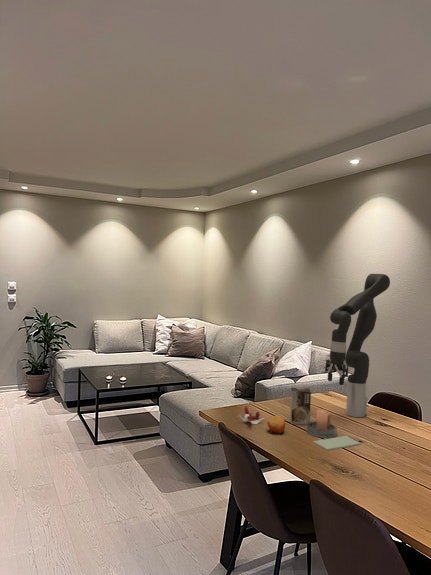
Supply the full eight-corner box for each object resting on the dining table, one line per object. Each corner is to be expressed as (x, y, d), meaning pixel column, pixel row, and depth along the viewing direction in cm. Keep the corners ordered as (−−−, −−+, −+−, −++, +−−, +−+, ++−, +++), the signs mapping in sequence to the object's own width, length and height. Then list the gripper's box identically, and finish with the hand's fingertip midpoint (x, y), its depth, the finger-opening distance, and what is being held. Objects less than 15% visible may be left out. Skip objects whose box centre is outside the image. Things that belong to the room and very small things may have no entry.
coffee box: (308, 420, 212) (309, 388, 212) (310, 425, 206) (311, 391, 205) (289, 419, 213) (291, 387, 213) (290, 424, 207) (292, 390, 206)
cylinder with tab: (320, 435, 193) (321, 413, 193) (313, 431, 197) (314, 409, 197) (333, 433, 196) (334, 411, 196) (326, 429, 200) (327, 408, 200)
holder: (323, 426, 205) (323, 420, 205) (342, 435, 193) (342, 429, 193) (300, 429, 199) (301, 423, 199) (318, 439, 188) (319, 432, 187)
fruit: (288, 426, 199) (286, 413, 195) (284, 439, 193) (282, 427, 189) (271, 423, 202) (269, 411, 199) (266, 436, 196) (264, 424, 193)
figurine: (266, 428, 199) (267, 414, 199) (242, 428, 198) (242, 414, 198) (259, 417, 214) (260, 404, 214) (236, 418, 213) (237, 404, 213)
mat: (346, 437, 191) (346, 435, 191) (360, 444, 183) (360, 443, 183) (313, 442, 184) (313, 441, 184) (327, 450, 176) (327, 449, 176)
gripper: (353, 353, 211) (351, 386, 211) (334, 348, 224) (331, 379, 224) (341, 353, 208) (339, 386, 208) (322, 348, 221) (320, 379, 221)
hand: (335, 382), depth 216 cm, fingers open, 8 cm apart
